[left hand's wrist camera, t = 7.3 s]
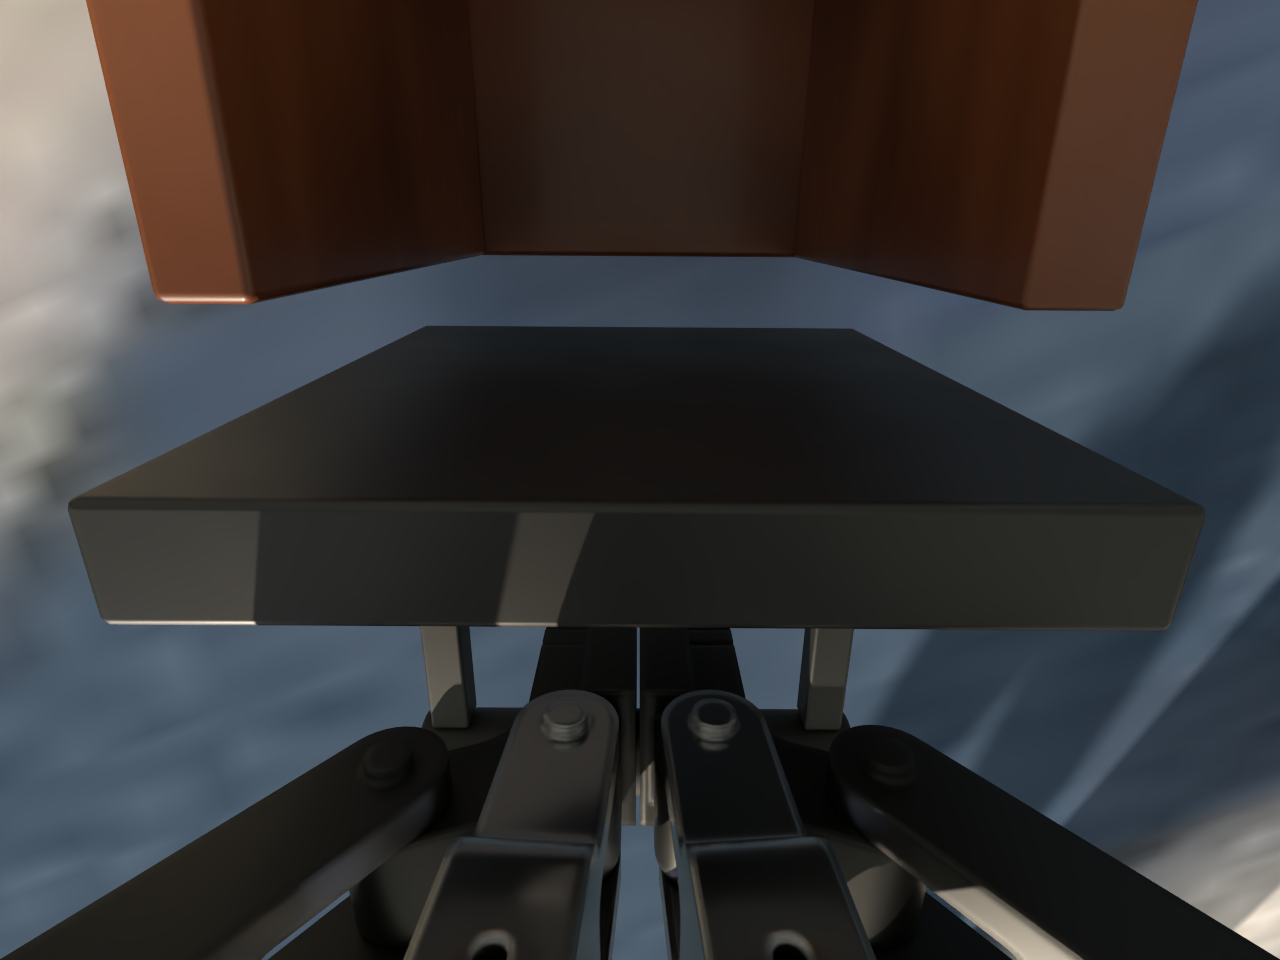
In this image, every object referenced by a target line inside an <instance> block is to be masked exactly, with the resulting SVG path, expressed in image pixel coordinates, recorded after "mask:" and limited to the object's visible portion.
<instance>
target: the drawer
mask: <svg viewBox="0 0 1280 960" xmlns="http://www.w3.org/2000/svg"><path fill="white" fill-rule="evenodd" d="M86 2H87V7H88V11H89V15H90V20H91V24H92V28H93V33H94V37H95V41H96V46H97V50H98V54H99V59H100V63H101V67H102V72H103V76H104V80H105V85H106V89H107V93H108V97H109V102H110V106H111V110H112V115H113V119H114V123H115V128H116V132H117V136H118V141H119V145H120V149H121V154H122V158H123V162H124V167H125V171H126V175H127V180H128V184H129V188H130V193H131V197H132V201H133V205H134V210H135V214H136V218H137V223H138V227H139V231H140V236H141V240H142V244H143V249H144V253H145V257H146V262H147V266H148V270H149V275H150V279H151V283H152V288H153V292H154V293H155V295H156V297H157V298H158V299H159V300H162V301H165V302H168V303H170V304H252V303H257V302H261V301H266V300H271V299H276V298H280V297H285V296H290V295H295V294H299V293H304V292H309V291H314V290H318V289H323V288H328V287H332V286H337V285H342V284H347V283H351V282H356V281H361V280H366V279H370V278H375V277H380V276H385V275H389V274H394V273H399V272H403V271H408V270H413V269H418V268H422V267H427V266H432V265H437V264H441V263H446V262H451V261H456V260H460V259H465V258H470V257H475V256H479V255H560V256H703V257H797V258H801V259H806V260H810V261H814V262H819V263H823V264H827V265H832V266H836V267H840V268H845V269H849V270H853V271H858V272H862V273H866V274H871V275H875V276H879V277H884V278H888V279H892V280H897V281H901V282H905V283H910V284H914V285H918V286H923V287H927V288H931V289H936V290H940V291H944V292H949V293H953V294H957V295H962V296H966V297H970V298H975V299H979V300H983V301H988V302H992V303H996V304H1001V305H1005V306H1009V307H1014V308H1018V309H1022V310H1076V311H1114V310H1117V309H1120V308H1122V306H1123V304H1124V301H1125V297H1126V293H1127V289H1128V285H1129V281H1130V276H1131V272H1132V268H1133V264H1134V260H1135V256H1136V252H1137V248H1138V244H1139V240H1140V236H1141V231H1142V227H1143V223H1144V219H1145V215H1146V211H1147V207H1148V203H1149V199H1150V195H1151V191H1152V186H1153V182H1154V178H1155V174H1156V170H1157V166H1158V162H1159V158H1160V154H1161V150H1162V146H1163V141H1164V137H1165V133H1166V129H1167V125H1168V121H1169V117H1170V113H1171V109H1172V105H1173V101H1174V96H1175V92H1176V88H1177V84H1178V80H1179V76H1180V72H1181V68H1182V64H1183V60H1184V56H1185V51H1186V47H1187V43H1188V39H1189V35H1190V31H1191V27H1192V23H1193V19H1194V15H1195V11H1196V6H1197V2H1198V0H86ZM68 512H69V515H70V518H71V522H72V525H73V528H74V531H75V535H76V538H77V541H78V544H79V548H80V551H81V554H82V557H83V561H84V564H85V567H86V571H87V574H88V577H89V580H90V584H91V587H92V590H93V593H94V597H95V600H96V603H97V607H98V610H99V613H100V616H101V618H102V619H103V620H104V622H106V623H109V624H163V625H326V626H420V629H421V637H422V646H423V654H424V662H425V671H426V679H427V687H428V695H429V704H430V711H429V712H428V713H427V715H426V717H425V720H424V722H423V725H422V728H423V729H426V730H429V731H432V732H433V733H435V734H437V735H438V736H439V737H440V738H442V740H443V741H444V743H445V744H446V746H447V749H448V751H449V750H453V749H457V748H461V747H465V746H469V745H474V744H477V743H481V742H484V741H487V740H489V739H492V738H494V737H496V736H498V735H500V734H502V733H504V732H505V731H507V730H508V729H510V728H511V727H512V726H513V723H514V720H515V718H516V716H517V714H518V713H519V712H520V710H521V709H522V708H482V707H476V694H475V683H474V673H473V662H472V651H471V640H470V629H469V626H488V627H650V628H805V634H804V644H803V654H802V663H801V673H800V682H799V692H798V702H797V708H798V709H759V710H760V712H761V713H762V714H763V716H764V718H765V720H766V723H767V726H768V728H769V731H770V732H771V733H773V734H775V735H776V736H778V737H780V738H783V739H785V740H787V741H790V742H793V743H797V744H800V745H804V746H809V747H813V748H817V749H821V750H825V751H829V749H830V746H831V743H832V742H833V740H834V739H835V737H836V736H838V735H839V734H840V733H841V732H843V731H845V730H847V729H849V728H850V725H849V722H848V720H847V718H846V716H845V714H844V713H843V706H844V699H845V691H846V684H847V676H848V669H849V661H850V654H851V646H852V639H853V631H854V629H975V630H1137V631H1162V630H1164V629H1167V628H1168V627H1169V626H1170V625H1171V623H1172V620H1173V616H1174V613H1175V610H1176V607H1177V604H1178V601H1179V598H1180V594H1181V591H1182V588H1183V585H1184V582H1185V579H1186V575H1187V572H1188V569H1189V566H1190V563H1191V560H1192V557H1193V553H1194V550H1195V547H1196V544H1197V541H1198V538H1199V535H1200V531H1201V528H1202V525H1203V522H1204V519H1205V511H1204V509H1203V508H1202V506H1200V505H1198V504H1196V503H1194V502H1192V501H1190V500H1188V499H1186V498H1184V497H1183V496H1181V495H1179V494H1177V493H1175V492H1173V491H1171V490H1169V489H1167V488H1165V487H1163V486H1161V485H1159V484H1157V483H1155V482H1153V481H1151V480H1149V479H1147V478H1145V477H1143V476H1141V475H1139V474H1137V473H1135V472H1133V471H1131V470H1129V469H1127V468H1125V467H1123V466H1121V465H1119V464H1118V463H1116V462H1114V461H1112V460H1110V459H1108V458H1106V457H1104V456H1102V455H1100V454H1098V453H1096V452H1094V451H1092V450H1090V449H1088V448H1086V447H1084V446H1082V445H1080V444H1078V443H1076V442H1074V441H1072V440H1070V439H1068V438H1066V437H1064V436H1062V435H1060V434H1058V433H1056V432H1054V431H1052V430H1051V429H1049V428H1047V427H1045V426H1043V425H1041V424H1039V423H1037V422H1035V421H1033V420H1031V419H1029V418H1027V417H1025V416H1023V415H1021V414H1019V413H1017V412H1015V411H1013V410H1011V409H1009V408H1007V407H1005V406H1003V405H1001V404H999V403H997V402H995V401H993V400H991V399H989V398H987V397H985V396H984V395H982V394H980V393H978V392H976V391H974V390H972V389H970V388H968V387H966V386H964V385H962V384H960V383H958V382H956V381H954V380H952V379H950V378H948V377H946V376H944V375H942V374H940V373H938V372H936V371H934V370H932V369H930V368H928V367H926V366H924V365H922V364H920V363H919V362H917V361H915V360H913V359H911V358H909V357H907V356H905V355H903V354H901V353H899V352H897V351H895V350H893V349H891V348H889V347H887V346H885V345H883V344H881V343H879V342H877V341H875V340H873V339H871V338H869V337H867V336H865V335H863V334H861V333H859V332H857V331H855V330H853V329H811V328H665V327H519V326H425V327H423V328H421V329H419V330H417V331H415V332H413V333H411V334H409V335H407V336H405V337H403V338H401V339H398V340H396V341H394V342H392V343H390V344H388V345H386V346H384V347H382V348H380V349H378V350H376V351H374V352H372V353H370V354H368V355H366V356H364V357H362V358H359V359H357V360H355V361H353V362H351V363H349V364H347V365H345V366H343V367H341V368H339V369H337V370H335V371H333V372H331V373H329V374H327V375H325V376H323V377H321V378H318V379H316V380H314V381H312V382H310V383H308V384H306V385H304V386H302V387H300V388H298V389H296V390H294V391H292V392H290V393H288V394H286V395H284V396H282V397H280V398H277V399H275V400H273V401H271V402H269V403H267V404H265V405H263V406H261V407H259V408H257V409H255V410H253V411H251V412H249V413H247V414H245V415H243V416H241V417H238V418H236V419H234V420H232V421H230V422H228V423H226V424H224V425H222V426H220V427H218V428H216V429H214V430H212V431H210V432H208V433H206V434H204V435H202V436H200V437H197V438H195V439H193V440H191V441H189V442H187V443H185V444H183V445H181V446H179V447H177V448H175V449H173V450H171V451H169V452H167V453H165V454H163V455H161V456H159V457H156V458H154V459H152V460H150V461H148V462H146V463H144V464H142V465H140V466H138V467H136V468H134V469H132V470H130V471H128V472H126V473H124V474H122V475H120V476H117V477H115V478H113V479H111V480H109V481H107V482H105V483H103V484H101V485H99V486H97V487H95V488H93V489H91V490H89V491H87V492H85V493H83V494H81V495H79V496H76V497H74V498H72V499H71V500H70V502H69V504H68ZM636 795H640V708H637V710H636Z"/></svg>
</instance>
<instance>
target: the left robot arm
mask: <svg viewBox="0 0 1280 960" xmlns="http://www.w3.org/2000/svg"><path fill="white" fill-rule="evenodd" d="M636 710H637V627H546V630H545V634H544V638H543V645H542V647H541V652H540V656H539V660H538V665H537V669H536V674H535V678H534V682H533V687H532V691H531V696H530V700H529V703H528V704H526V705H525V706H524V707H523V708H522V709H521V710H520V712H519V713H518V714H517V716H516V718H515V720H514V723H513V726H512V727H511V728H510V729H508V730H507V731H505V732H504V733H502V734H500V735H498V736H496V737H494V738H492V739H489V740H487V741H484V742H481V743H477V744H474V745H469V746H465V747H461V748H457V749H453V750H449V751H448V749H447V746H446V744H445V743H444V741H443V740H442V738H440V737H439V736H438V735H437V734H435V733H433V732H432V731H429V730H426V729H423V728H418V727H395V728H390V729H385V730H382V731H379V732H376V733H373V734H371V735H368V736H366V737H364V738H362V739H361V740H359V741H357V742H355V743H354V744H352V745H350V746H349V747H347V748H345V749H344V750H342V751H341V752H339V753H337V754H336V755H334V756H332V757H331V758H329V759H327V760H326V761H324V762H323V763H321V764H319V765H318V766H316V767H314V768H313V769H311V770H309V771H308V772H306V773H305V774H303V775H301V776H300V777H298V778H296V779H295V780H293V781H291V782H290V783H288V784H287V785H285V786H283V787H282V788H280V789H278V790H277V791H275V792H273V793H272V794H270V795H269V796H267V797H265V798H264V799H262V800H260V801H259V802H257V803H255V804H254V805H252V806H250V807H249V808H247V809H246V810H244V811H242V812H241V813H239V814H237V815H236V816H234V817H232V818H231V819H229V820H228V821H226V822H224V823H223V824H221V825H219V826H218V827H216V828H214V829H213V830H211V831H210V832H208V833H206V834H205V835H203V836H201V837H200V838H198V839H196V840H195V841H193V842H192V843H190V844H188V845H187V846H185V847H183V848H182V849H180V850H178V851H177V852H175V853H174V854H172V855H170V856H169V857H167V858H165V859H164V860H162V861H160V862H159V863H157V864H156V865H154V866H152V867H151V868H149V869H147V870H146V871H144V872H142V873H141V874H139V875H137V876H136V877H134V878H133V879H131V880H129V881H128V882H126V883H124V884H123V885H121V886H119V887H118V888H116V889H115V890H113V891H111V892H110V893H108V894H106V895H105V896H103V897H101V898H100V899H98V900H97V901H95V902H93V903H92V904H90V905H88V906H87V907H85V908H83V909H82V910H80V911H79V912H77V913H75V914H74V915H72V916H70V917H69V918H67V919H65V920H64V921H62V922H61V923H59V924H57V925H56V926H54V927H52V928H51V929H49V930H47V931H46V932H44V933H43V934H41V935H39V936H38V937H36V938H34V939H33V940H31V941H29V942H28V943H26V944H24V945H23V946H21V947H20V948H18V949H16V950H15V951H13V952H11V953H10V954H8V955H6V956H5V957H3V958H2V959H0V960H261V959H262V958H263V957H264V956H265V955H266V954H267V953H268V952H269V951H271V950H272V949H273V948H274V947H276V946H277V945H278V944H279V943H281V942H282V941H283V940H285V939H286V938H287V937H288V936H290V935H291V934H292V933H294V932H295V931H296V930H297V929H299V928H300V927H301V926H303V925H304V924H305V923H307V922H308V921H309V920H310V919H312V918H313V917H314V916H316V915H317V914H318V913H319V912H321V911H322V910H323V909H325V908H326V907H327V906H328V905H330V904H331V903H332V902H334V901H335V900H336V899H337V898H339V897H340V896H341V895H343V894H344V893H345V892H347V891H348V890H349V892H350V896H349V897H347V898H346V899H345V900H343V901H342V902H341V903H340V904H338V905H337V906H336V907H334V908H333V909H332V910H331V911H329V912H328V913H327V914H326V915H324V916H323V917H322V918H320V919H319V920H318V921H317V922H315V923H314V924H313V925H311V926H310V927H309V928H308V929H306V930H305V931H304V932H303V933H301V934H300V935H299V936H297V937H296V938H295V939H294V940H292V941H291V942H290V943H288V944H287V945H286V946H285V947H283V948H282V949H281V950H280V951H278V952H277V953H276V954H274V955H273V956H272V957H271V958H269V959H268V960H612V954H613V945H614V936H615V928H616V919H617V910H618V901H619V892H620V883H621V825H636ZM640 826H654V848H655V856H656V859H657V862H658V864H659V884H660V892H661V901H662V910H663V919H664V928H665V937H666V945H667V954H668V960H1012V959H1011V958H1009V957H1008V956H1007V955H1006V954H1004V953H1003V952H1002V951H1000V950H999V949H998V948H997V947H995V946H994V945H993V944H992V943H990V942H989V941H988V940H986V939H985V938H984V937H983V936H981V935H980V934H979V933H977V932H976V931H975V930H974V929H972V928H971V927H970V926H969V925H967V924H966V923H965V922H963V921H962V920H961V919H960V918H958V917H957V916H956V915H954V914H953V913H952V912H951V911H949V910H948V909H947V908H945V907H944V906H943V905H942V904H940V903H939V902H938V901H937V900H935V899H934V898H933V897H931V896H930V895H929V894H928V893H926V892H925V890H926V886H927V887H928V888H930V889H931V890H932V891H933V892H935V893H936V894H937V895H939V896H940V897H941V898H943V899H944V900H945V901H946V902H948V903H949V904H950V905H952V906H953V907H954V908H955V909H957V910H958V911H959V912H961V913H962V914H963V915H964V916H966V917H967V918H968V919H970V920H971V921H972V922H973V923H975V924H976V925H977V926H979V927H980V928H981V929H983V930H984V931H985V932H986V933H988V934H989V935H990V936H992V937H993V938H994V939H995V940H997V941H998V942H999V943H1001V944H1002V945H1003V946H1004V947H1005V948H1007V949H1008V950H1009V951H1010V952H1011V953H1012V954H1013V955H1014V956H1015V957H1016V958H1017V960H1280V959H1278V958H1277V957H1275V956H1274V955H1272V954H1270V953H1269V952H1267V951H1265V950H1264V949H1262V948H1260V947H1259V946H1257V945H1255V944H1254V943H1252V942H1251V941H1249V940H1247V939H1246V938H1244V937H1242V936H1241V935H1239V934H1237V933H1236V932H1234V931H1233V930H1231V929H1229V928H1228V927H1226V926H1224V925H1223V924H1221V923H1219V922H1218V921H1216V920H1215V919H1213V918H1211V917H1210V916H1208V915H1206V914H1205V913H1203V912H1201V911H1200V910H1198V909H1197V908H1195V907H1193V906H1192V905H1190V904H1188V903H1187V902H1185V901H1183V900H1182V899H1180V898H1179V897H1177V896H1175V895H1174V894H1172V893H1170V892H1169V891H1167V890H1165V889H1164V888H1162V887H1161V886H1159V885H1157V884H1156V883H1154V882H1152V881H1151V880H1149V879H1147V878H1146V877H1144V876H1142V875H1141V874H1139V873H1138V872H1136V871H1134V870H1133V869H1131V868H1129V867H1128V866H1126V865H1124V864H1123V863H1121V862H1120V861H1118V860H1116V859H1115V858H1113V857H1111V856H1110V855H1108V854H1106V853H1105V852H1103V851H1102V850H1100V849H1098V848H1097V847H1095V846H1093V845H1092V844H1090V843H1088V842H1087V841H1085V840H1084V839H1082V838H1080V837H1079V836H1077V835H1075V834H1074V833H1072V832H1070V831H1069V830H1067V829H1066V828H1064V827H1062V826H1061V825H1059V824H1057V823H1056V822H1054V821H1052V820H1051V819H1049V818H1048V817H1046V816H1044V815H1043V814H1041V813H1039V812H1038V811H1036V810H1034V809H1033V808H1031V807H1030V806H1028V805H1026V804H1025V803H1023V802H1021V801H1020V800H1018V799H1016V798H1015V797H1013V796H1011V795H1010V794H1008V793H1007V792H1005V791H1003V790H1002V789H1000V788H998V787H997V786H995V785H993V784H992V783H990V782H989V781H987V780H985V779H984V778H982V777H980V776H979V775H977V774H975V773H974V772H972V771H971V770H969V769H967V768H966V767H964V766H962V765H961V764H959V763H957V762H956V761H954V760H953V759H951V758H949V757H948V756H946V755H944V754H943V753H941V752H939V751H938V750H936V749H935V748H933V747H931V746H930V745H928V744H926V743H925V742H923V741H921V740H920V739H918V738H916V737H914V736H912V735H911V734H908V733H906V732H903V731H901V730H898V729H894V728H891V727H885V726H879V725H862V726H856V727H852V728H849V729H847V730H845V731H843V732H841V733H840V734H839V735H838V736H836V737H835V739H834V740H833V742H832V743H831V746H830V749H829V751H825V750H821V749H817V748H813V747H809V746H804V745H800V744H797V743H793V742H790V741H787V740H785V739H783V738H780V737H778V736H776V735H775V734H773V733H771V732H770V731H769V728H768V726H767V723H766V720H765V718H764V716H763V714H762V713H761V712H760V710H759V709H758V708H757V707H756V706H755V705H754V704H752V703H751V702H749V701H748V700H747V699H746V698H745V694H744V689H743V684H742V680H741V675H740V671H739V666H738V662H737V657H736V652H735V648H734V645H733V639H732V634H731V630H730V628H650V627H640Z"/></svg>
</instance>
